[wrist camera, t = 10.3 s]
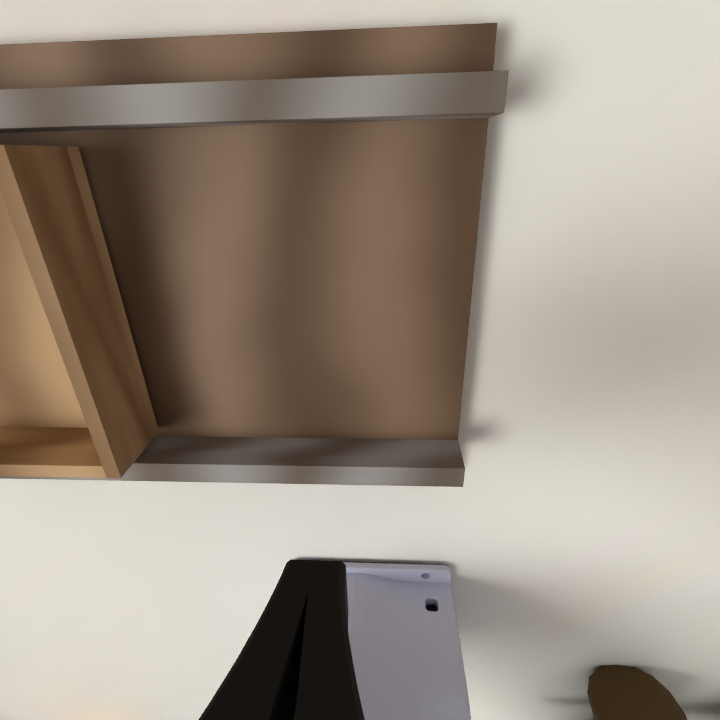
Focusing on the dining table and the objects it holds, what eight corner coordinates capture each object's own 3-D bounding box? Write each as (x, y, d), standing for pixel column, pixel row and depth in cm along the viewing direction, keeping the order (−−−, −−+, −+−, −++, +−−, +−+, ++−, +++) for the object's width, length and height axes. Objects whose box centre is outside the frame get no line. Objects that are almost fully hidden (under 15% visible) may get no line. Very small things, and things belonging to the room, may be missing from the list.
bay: (489, 31, 14) (558, -48, 8) (450, 467, 22) (472, 571, 16) (-245, 62, 15) (-592, 12, 10) (-30, 460, 23) (-156, 553, 18)
